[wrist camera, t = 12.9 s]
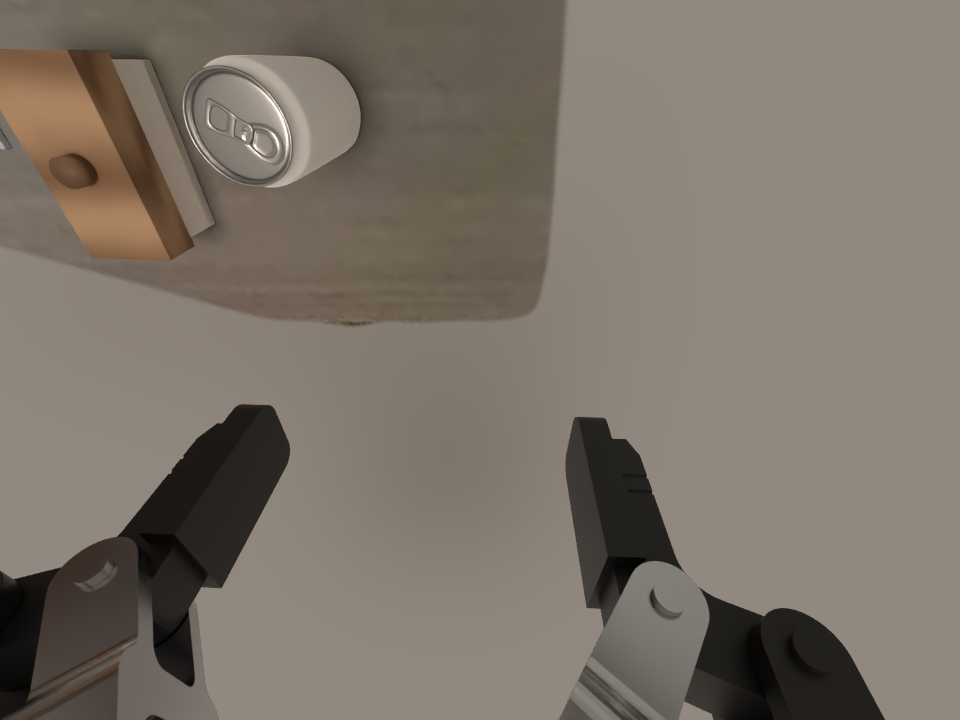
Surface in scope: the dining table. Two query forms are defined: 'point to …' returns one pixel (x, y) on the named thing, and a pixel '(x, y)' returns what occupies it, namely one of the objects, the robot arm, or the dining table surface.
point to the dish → (165, 141)
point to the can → (270, 116)
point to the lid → (91, 152)
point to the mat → (4, 142)
